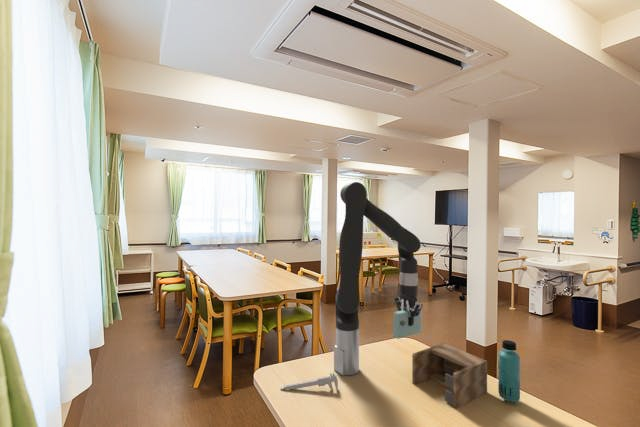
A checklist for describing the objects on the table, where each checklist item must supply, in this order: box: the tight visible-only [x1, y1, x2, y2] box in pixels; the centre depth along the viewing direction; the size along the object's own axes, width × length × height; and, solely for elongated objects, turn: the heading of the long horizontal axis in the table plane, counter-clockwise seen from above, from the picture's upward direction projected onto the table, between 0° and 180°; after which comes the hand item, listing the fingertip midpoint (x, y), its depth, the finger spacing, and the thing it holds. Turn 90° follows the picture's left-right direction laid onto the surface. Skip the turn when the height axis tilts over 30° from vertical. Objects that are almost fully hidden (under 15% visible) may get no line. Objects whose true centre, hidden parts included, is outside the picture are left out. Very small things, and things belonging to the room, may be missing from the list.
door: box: [392, 308, 423, 340], centre depth 132 cm, size 4×14×10 cm, turn 122°
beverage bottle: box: [497, 339, 521, 403], centre depth 107 cm, size 6×7×20 cm
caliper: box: [280, 372, 339, 391], centre depth 114 cm, size 20×1×6 cm, turn 90°
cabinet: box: [411, 343, 488, 409], centre depth 115 cm, size 18×18×11 cm
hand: (407, 324), depth 133 cm, fingers closed on door, 2 cm apart
